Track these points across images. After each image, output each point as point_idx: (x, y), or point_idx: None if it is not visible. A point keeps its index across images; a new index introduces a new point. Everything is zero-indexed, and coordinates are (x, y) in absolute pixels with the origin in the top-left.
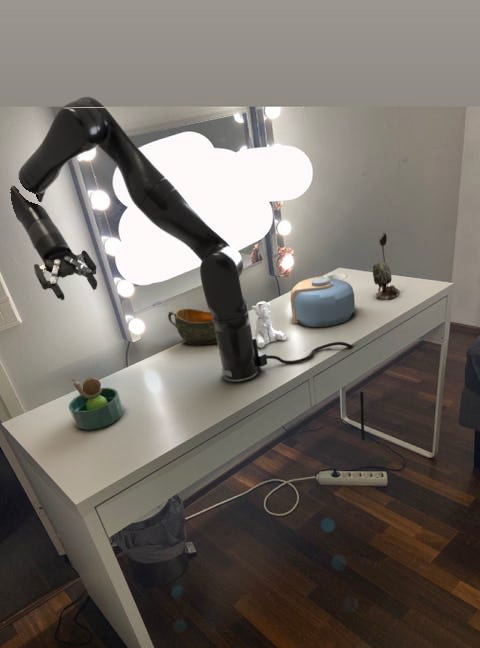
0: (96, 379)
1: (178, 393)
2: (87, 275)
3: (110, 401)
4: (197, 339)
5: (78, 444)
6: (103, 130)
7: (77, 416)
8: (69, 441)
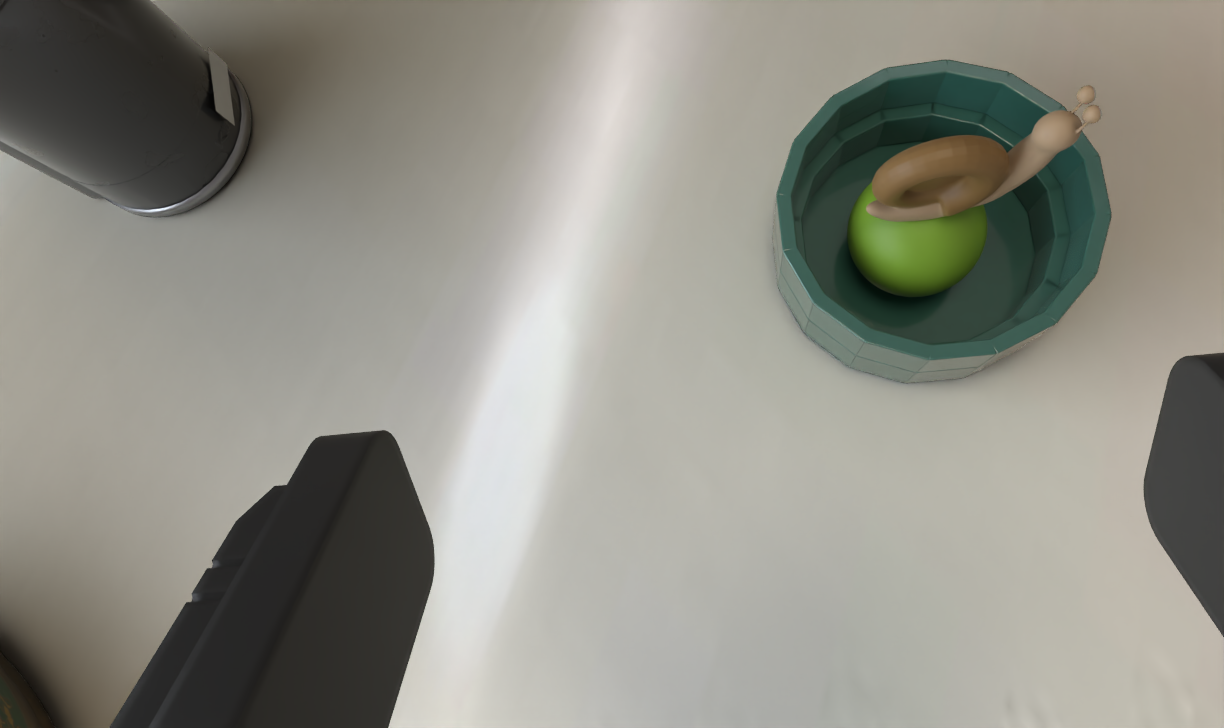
0: (896, 156)
1: (475, 195)
2: (266, 721)
3: (854, 95)
4: (25, 721)
5: (1082, 69)
6: None
7: None
8: (1123, 131)
